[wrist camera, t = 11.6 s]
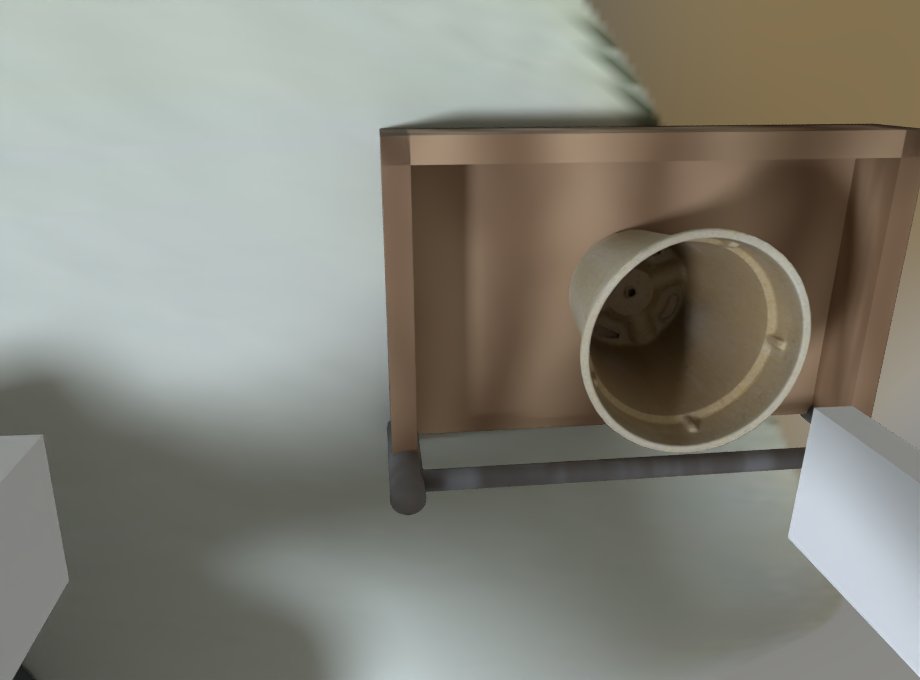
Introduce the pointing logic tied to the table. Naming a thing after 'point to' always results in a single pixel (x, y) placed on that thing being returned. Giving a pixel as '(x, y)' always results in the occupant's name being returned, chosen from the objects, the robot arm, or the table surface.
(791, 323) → the flower pot
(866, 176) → the wooden tray
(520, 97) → the table surface
